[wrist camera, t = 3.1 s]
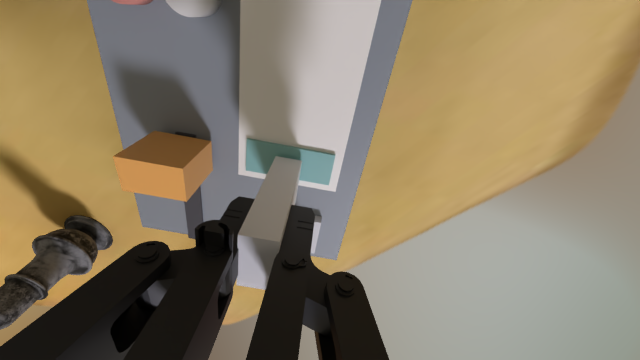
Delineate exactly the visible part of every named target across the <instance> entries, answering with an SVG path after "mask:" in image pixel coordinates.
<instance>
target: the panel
mask: <svg viewBox="0 0 640 360" xmlns="http://www.w3.org/2000/svg"><path fill="white" fill-rule="evenodd" d="M87 3H88V7H89V11H90V15H91V19H92V23H93V27H94V31H95V35H96V39H97V44H98V48H99V52H100V56H101V60H102V64H103V68H104V72H105V76H106V80H107V84H108V88H109V92H110V96H111V100H112V104H113V109H114V113H115V117H116V121H117V125H118V129H119V133H120V137H121V141H122V145H123V149H126V148H127V147H129V146H131V145H132V144H134V143H135V142H137V141H139V140H140V139H142V138H143V137H145V136H147V135H148V134H150V133H151V132H153V131H159V132H165V133H170V134H175V135H181V136H186V137H192V138H197V139H203V140H208V141H211V144H212V163H213V171H212V172H211V173H210V174H209V175H208V177H207V178H206V179H205V180H204V181H203V183H202V184H201V185H200V186H199V187H198V189H197V190H196V191H195V192H194V194H193V195H192V196H191V197H190V198H189V200H188V201H187V202H185V201H180V200H174V199H168V198H163V197H157V196H151V195H146V194H140V193H134V194H135V198H136V202H137V206H138V210H139V214H140V218H141V222H142V226H143V227H148V228H154V229H159V230H165V231H171V232H177V233H183V234H188V236H189V238H193V239H195V228H196V227H197V226H198V225H199V224H201V223H203V222H205V221H209V220H220V219H221V217H222V216H223V214H224V212H225V211H226V209H227V207H228V206H229V204H230V202H231V201H233V200H234V199H236V198H237V197H239V196H241V197H246V198H252V199H255V198H256V196H257V194H258V192H259V190H260V188H261V185H262V183H263V181H264V179H261V178H255V177H250V176H244V175H238V163H239V81H240V0H87ZM411 3H412V0H381V4H380V8H379V12H378V17H377V21H376V25H375V29H374V33H373V37H372V42H371V46H370V50H369V54H368V58H367V62H366V67H365V71H364V75H363V79H362V83H361V87H360V92H359V96H358V100H357V104H356V108H355V113H354V117H353V121H352V125H351V129H350V133H349V138H348V142H347V146H346V150H345V154H344V158H343V163H342V167H341V171H340V175H339V179H338V183H337V188H336V192H333V191H327V190H322V189H316V188H311V187H305V186H300V185H298V190H297V197H296V202H295V205H296V206H302V207H307V208H312V210H313V212H314V214H315V221H314V229H313V237H312V245H311V253H310V256H316V257H322V258H327V259H333V260H337V256H338V253H339V249H340V246H341V243H342V239H343V236H344V232H345V229H346V226H347V222H348V219H349V215H350V212H351V208H352V205H353V202H354V198H355V195H356V191H357V188H358V184H359V181H360V178H361V174H362V171H363V167H364V164H365V161H366V157H367V154H368V150H369V147H370V143H371V140H372V137H373V133H374V130H375V126H376V123H377V119H378V116H379V113H380V109H381V106H382V102H383V99H384V96H385V92H386V89H387V85H388V82H389V78H390V75H391V72H392V68H393V65H394V61H395V58H396V54H397V51H398V48H399V44H400V41H401V37H402V34H403V31H404V27H405V24H406V20H407V17H408V13H409V10H410V7H411Z"/></svg>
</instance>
